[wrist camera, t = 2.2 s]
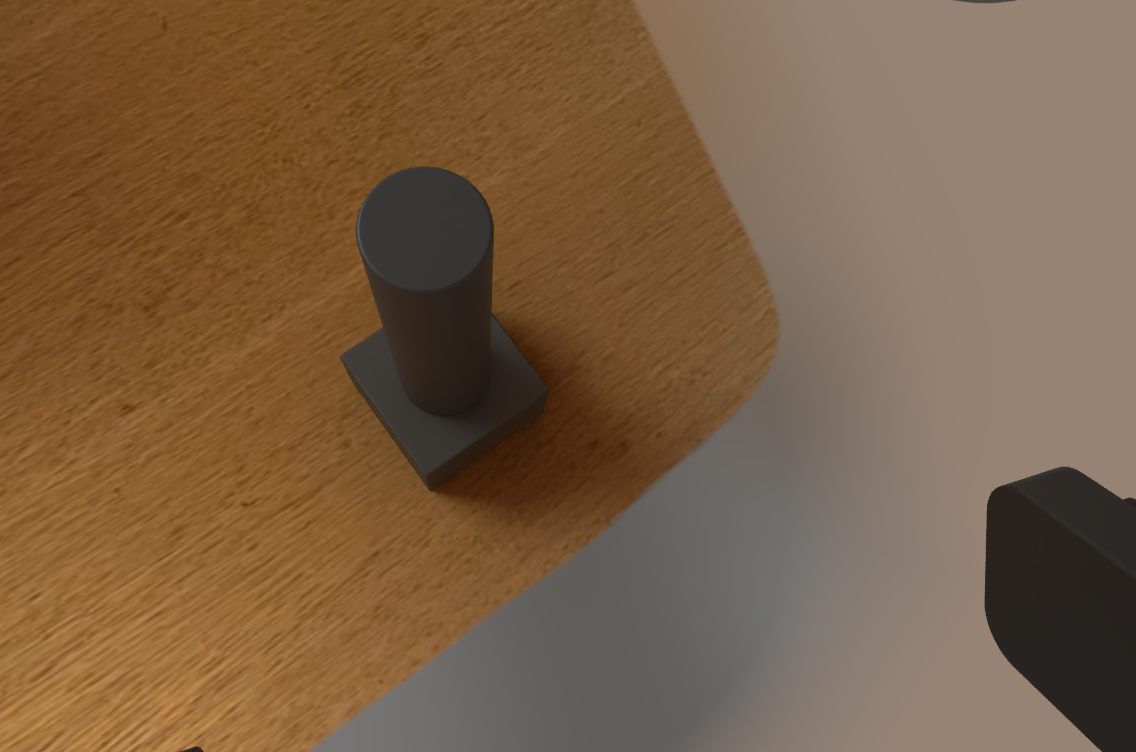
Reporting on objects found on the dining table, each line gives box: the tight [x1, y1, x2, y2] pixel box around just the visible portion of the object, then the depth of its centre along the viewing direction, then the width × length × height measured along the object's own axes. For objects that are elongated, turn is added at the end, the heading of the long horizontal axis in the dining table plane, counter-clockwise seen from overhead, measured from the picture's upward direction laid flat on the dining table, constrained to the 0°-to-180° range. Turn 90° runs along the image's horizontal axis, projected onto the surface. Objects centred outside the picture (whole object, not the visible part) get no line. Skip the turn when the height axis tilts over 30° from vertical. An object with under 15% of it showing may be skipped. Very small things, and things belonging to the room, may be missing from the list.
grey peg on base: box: [340, 167, 549, 491], centre depth 26 cm, size 4×4×14 cm
